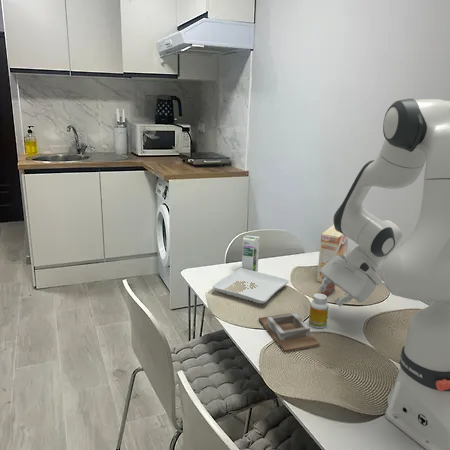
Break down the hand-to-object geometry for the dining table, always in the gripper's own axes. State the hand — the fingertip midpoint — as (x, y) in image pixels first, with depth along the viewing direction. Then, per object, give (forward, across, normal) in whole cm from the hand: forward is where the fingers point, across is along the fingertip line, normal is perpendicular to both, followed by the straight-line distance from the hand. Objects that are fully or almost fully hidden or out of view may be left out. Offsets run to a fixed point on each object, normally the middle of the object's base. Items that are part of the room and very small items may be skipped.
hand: (328, 297), depth 129 cm
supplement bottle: (+8, 0, +4) cm, 9 cm away
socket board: (+16, +2, -4) cm, 17 cm away
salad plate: (+17, -28, -3) cm, 33 cm away
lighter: (-2, -18, +15) cm, 23 cm away
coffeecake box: (-8, -30, +21) cm, 38 cm away
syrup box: (+12, -44, +1) cm, 45 cm away
